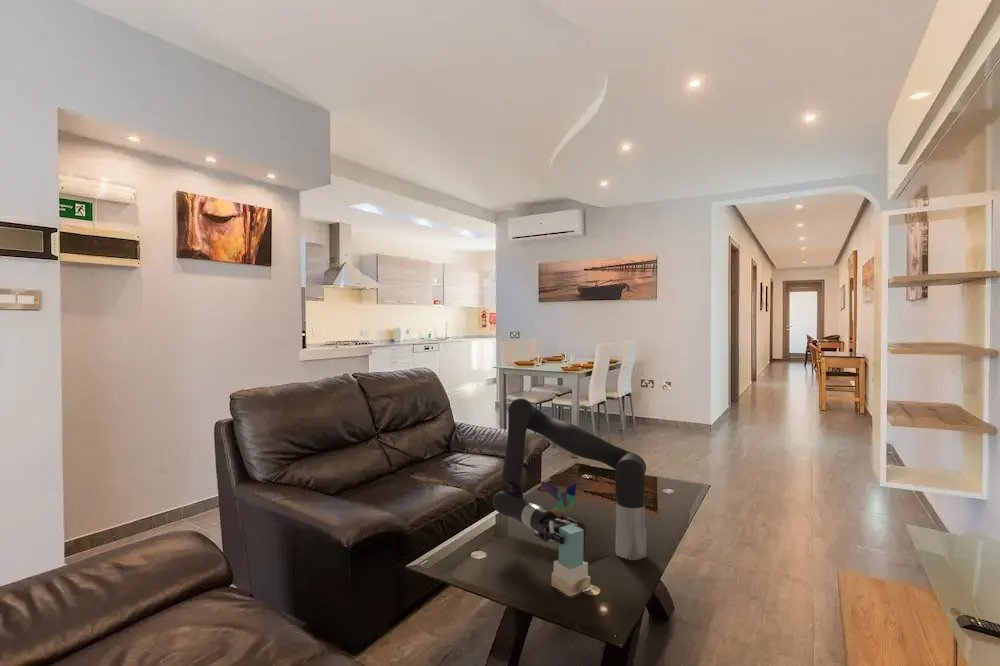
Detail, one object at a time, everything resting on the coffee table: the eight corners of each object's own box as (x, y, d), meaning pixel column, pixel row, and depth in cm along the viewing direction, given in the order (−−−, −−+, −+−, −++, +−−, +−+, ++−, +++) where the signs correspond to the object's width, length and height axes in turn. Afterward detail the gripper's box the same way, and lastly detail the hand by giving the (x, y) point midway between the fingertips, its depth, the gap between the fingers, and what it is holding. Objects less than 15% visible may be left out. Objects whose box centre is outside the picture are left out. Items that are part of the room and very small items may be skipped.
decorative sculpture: (595, 521, 193) (596, 483, 192) (553, 528, 186) (553, 488, 186) (573, 505, 209) (573, 470, 208) (533, 511, 202) (534, 475, 202)
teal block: (571, 557, 147) (572, 524, 147) (583, 564, 143) (583, 530, 143) (558, 561, 145) (559, 527, 144) (569, 568, 140) (570, 533, 140)
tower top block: (569, 567, 149) (570, 554, 149) (587, 576, 144) (587, 563, 144) (553, 574, 145) (553, 561, 145) (571, 584, 140) (571, 570, 139)
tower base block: (571, 578, 150) (571, 565, 150) (590, 590, 144) (590, 577, 144) (551, 586, 146) (551, 573, 146) (569, 599, 139) (570, 585, 139)
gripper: (521, 511, 152) (556, 530, 139) (555, 502, 160) (592, 519, 147) (520, 535, 152) (555, 556, 139) (555, 525, 161) (591, 543, 147)
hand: (574, 537), depth 143 cm, fingers open, 8 cm apart
